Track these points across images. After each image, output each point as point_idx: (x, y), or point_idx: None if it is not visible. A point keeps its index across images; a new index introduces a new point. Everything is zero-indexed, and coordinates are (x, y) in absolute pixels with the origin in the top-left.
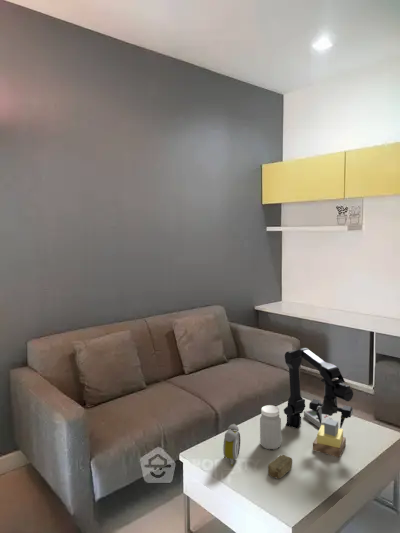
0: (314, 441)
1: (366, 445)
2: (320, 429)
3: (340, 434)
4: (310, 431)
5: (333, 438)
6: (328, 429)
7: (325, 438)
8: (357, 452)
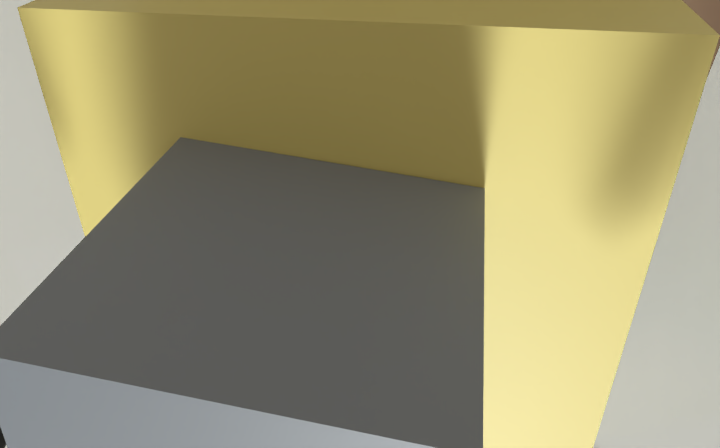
0: (714, 14)
1: (6, 307)
2: (597, 337)
3: None
4: (711, 423)
5: (187, 10)
6: (334, 256)
7: (432, 8)
8: (16, 126)
